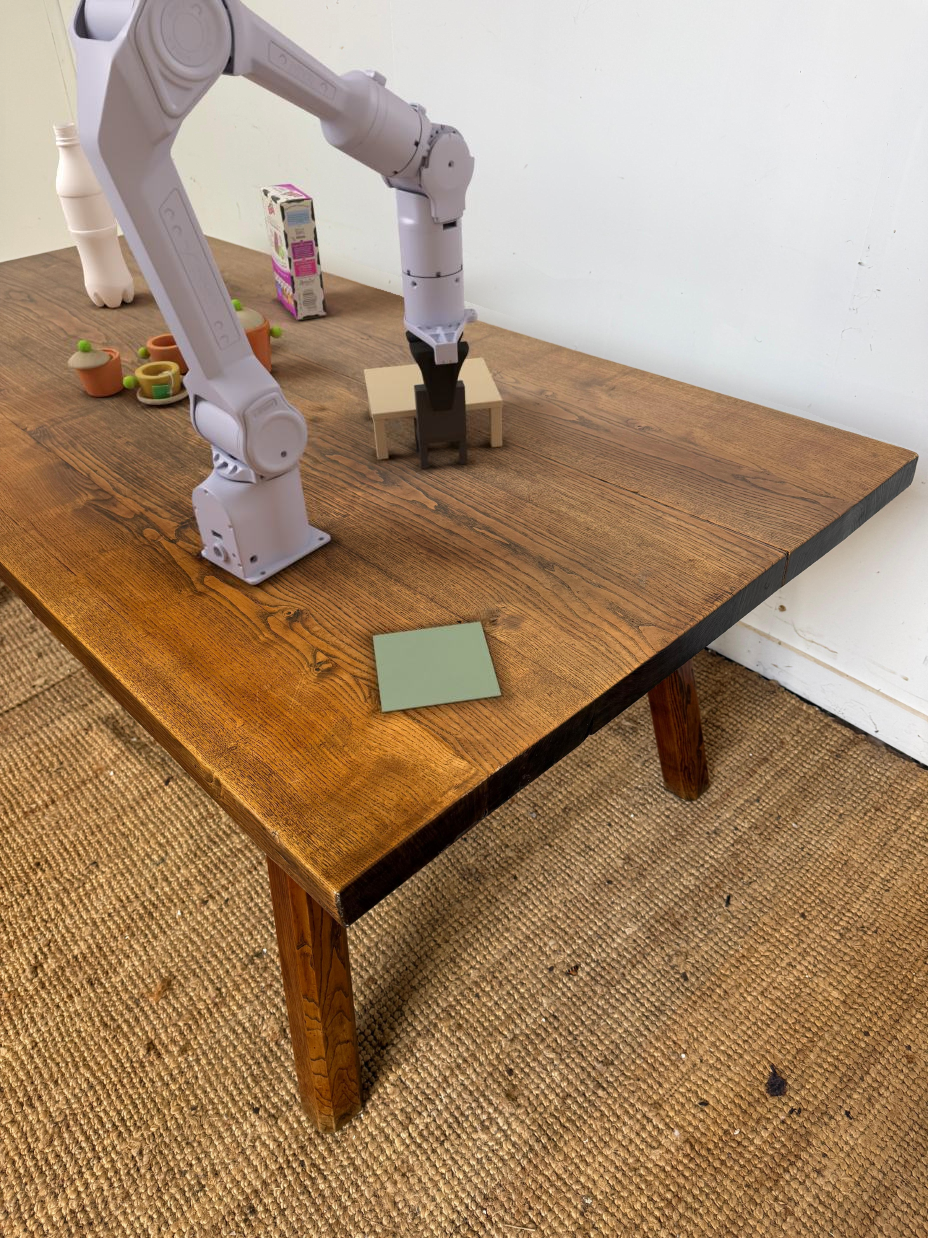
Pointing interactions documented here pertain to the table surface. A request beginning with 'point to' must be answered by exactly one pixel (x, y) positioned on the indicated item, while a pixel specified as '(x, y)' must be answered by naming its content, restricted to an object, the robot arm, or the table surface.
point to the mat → (434, 667)
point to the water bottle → (91, 223)
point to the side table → (397, 397)
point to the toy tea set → (161, 362)
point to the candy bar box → (294, 250)
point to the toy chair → (440, 424)
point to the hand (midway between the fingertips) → (440, 404)
